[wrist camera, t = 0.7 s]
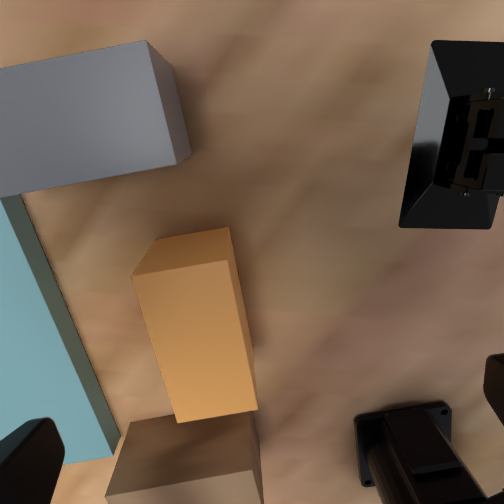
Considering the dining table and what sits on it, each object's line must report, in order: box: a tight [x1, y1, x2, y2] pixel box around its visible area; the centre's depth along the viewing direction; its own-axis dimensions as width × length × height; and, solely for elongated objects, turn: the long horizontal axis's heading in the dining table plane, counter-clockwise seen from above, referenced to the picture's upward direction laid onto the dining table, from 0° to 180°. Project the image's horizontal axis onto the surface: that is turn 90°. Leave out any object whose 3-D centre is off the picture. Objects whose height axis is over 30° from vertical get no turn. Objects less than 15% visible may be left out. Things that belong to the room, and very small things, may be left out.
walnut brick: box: [105, 411, 264, 504], centre depth 21 cm, size 8×4×5 cm, turn 101°
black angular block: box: [398, 40, 504, 229], centre depth 16 cm, size 12×7×5 cm, turn 178°
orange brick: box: [131, 227, 258, 423], centre depth 18 cm, size 8×4×5 cm, turn 9°
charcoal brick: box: [0, 40, 192, 198], centre depth 14 cm, size 8×4×5 cm, turn 100°
